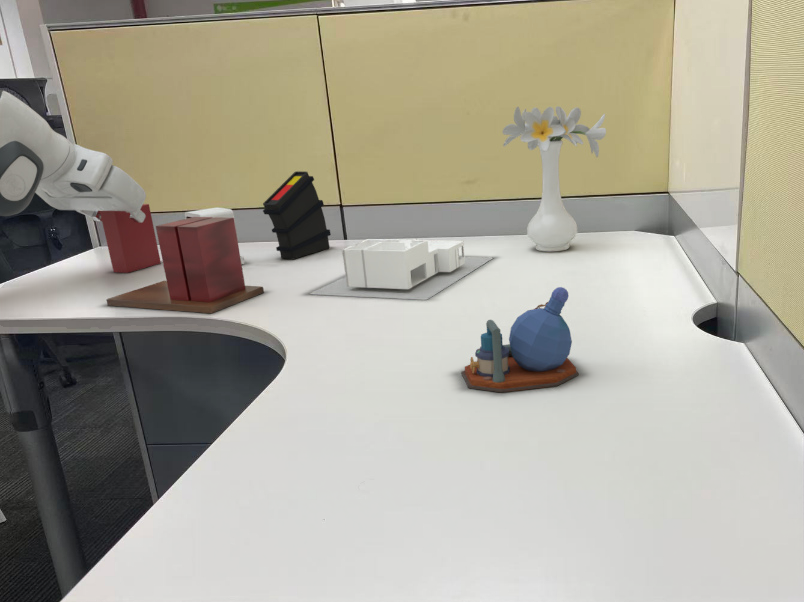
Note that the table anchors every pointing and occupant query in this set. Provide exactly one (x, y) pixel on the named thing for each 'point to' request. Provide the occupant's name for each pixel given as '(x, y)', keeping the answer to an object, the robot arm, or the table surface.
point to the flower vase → (552, 169)
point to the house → (401, 268)
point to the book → (130, 240)
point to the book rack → (195, 269)
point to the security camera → (213, 213)
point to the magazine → (297, 217)
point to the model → (525, 352)
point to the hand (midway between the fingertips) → (121, 218)
